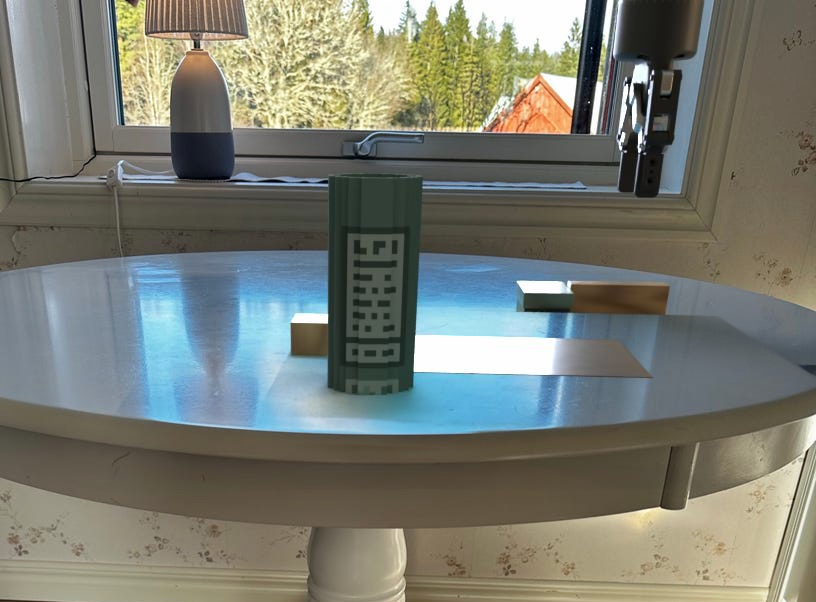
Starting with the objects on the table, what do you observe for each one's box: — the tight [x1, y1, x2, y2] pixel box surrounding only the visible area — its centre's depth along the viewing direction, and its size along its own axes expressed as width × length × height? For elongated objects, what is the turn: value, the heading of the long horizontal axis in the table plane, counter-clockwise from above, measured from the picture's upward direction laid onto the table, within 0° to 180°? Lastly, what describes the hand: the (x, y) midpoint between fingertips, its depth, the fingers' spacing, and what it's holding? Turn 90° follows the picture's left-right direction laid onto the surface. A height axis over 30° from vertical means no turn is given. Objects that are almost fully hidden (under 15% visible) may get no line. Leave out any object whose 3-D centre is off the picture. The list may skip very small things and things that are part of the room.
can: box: [326, 172, 424, 396], centre depth 66 cm, size 6×6×15 cm
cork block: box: [289, 313, 328, 357], centre depth 78 cm, size 4×4×4 cm
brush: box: [515, 280, 671, 316], centre depth 100 cm, size 15×8×4 cm, turn 86°
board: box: [414, 334, 654, 379], centre depth 78 cm, size 20×14×2 cm
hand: (636, 194), depth 95 cm, fingers open, 8 cm apart
